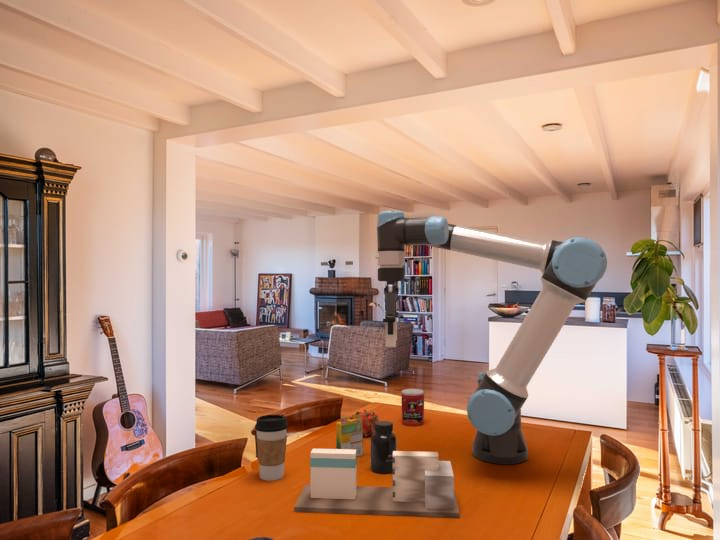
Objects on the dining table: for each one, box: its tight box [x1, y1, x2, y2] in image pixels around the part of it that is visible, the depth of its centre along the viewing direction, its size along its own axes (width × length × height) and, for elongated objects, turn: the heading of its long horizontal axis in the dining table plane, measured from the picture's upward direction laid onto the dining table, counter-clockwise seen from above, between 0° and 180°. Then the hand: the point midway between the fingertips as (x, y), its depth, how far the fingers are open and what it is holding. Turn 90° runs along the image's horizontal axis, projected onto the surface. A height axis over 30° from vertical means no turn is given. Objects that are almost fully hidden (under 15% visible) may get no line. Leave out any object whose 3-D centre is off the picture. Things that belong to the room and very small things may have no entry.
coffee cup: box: [254, 414, 289, 482], centre depth 130 cm, size 8×8×15 cm
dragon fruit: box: [349, 409, 379, 438], centre depth 164 cm, size 8×8×12 cm
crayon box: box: [335, 414, 364, 457], centre depth 145 cm, size 7×3×12 cm, turn 123°
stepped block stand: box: [293, 450, 461, 519], centre depth 115 cm, size 35×12×11 cm, turn 85°
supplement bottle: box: [370, 420, 398, 474], centre depth 135 cm, size 7×7×12 cm
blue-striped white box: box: [309, 448, 358, 500], centre depth 116 cm, size 10×3×10 cm, turn 85°
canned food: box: [400, 388, 425, 427], centre depth 177 cm, size 8×8×11 cm
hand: (391, 343), depth 143 cm, fingers open, 13 cm apart
